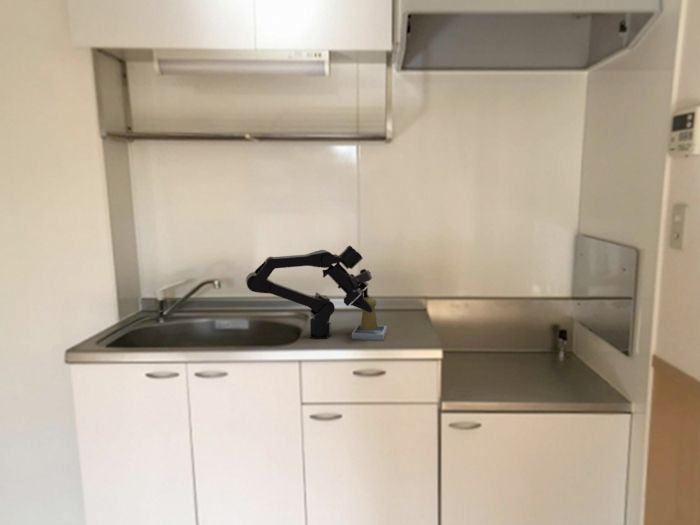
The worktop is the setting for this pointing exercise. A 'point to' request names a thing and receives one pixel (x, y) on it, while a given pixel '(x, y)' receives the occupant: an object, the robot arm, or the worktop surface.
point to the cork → (369, 316)
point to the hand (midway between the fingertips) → (372, 309)
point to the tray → (369, 333)
